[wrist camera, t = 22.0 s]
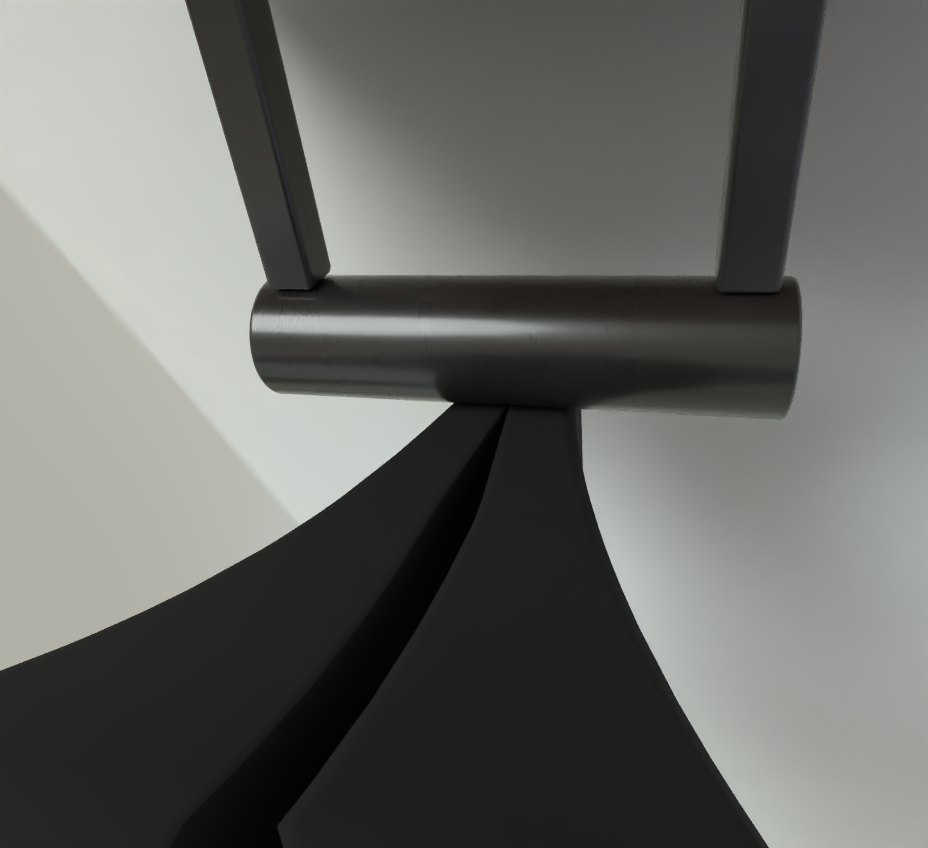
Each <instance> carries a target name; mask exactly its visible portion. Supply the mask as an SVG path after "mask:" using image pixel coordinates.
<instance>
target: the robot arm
mask: <svg viewBox="0 0 928 848" xmlns="http://www.w3.org/2000/svg"><path fill="white" fill-rule="evenodd" d="M0 848H769V847H768V846H767V844H766V843H765V841H764V840H763V838H762V837H761V835H760V834H759V832H758V830H757V829H756V827H755V826H754V824H753V823H752V821H751V820H750V818H749V817H748V815H747V814H746V812H745V811H744V809H743V808H742V806H741V805H740V803H739V802H738V800H737V799H736V797H735V795H734V794H733V792H732V791H731V789H730V788H729V786H728V784H727V783H726V781H725V780H724V778H723V776H722V775H721V773H720V772H719V770H718V769H717V767H716V765H715V764H714V762H713V761H712V759H711V757H710V756H709V754H708V752H707V751H706V749H705V747H704V746H703V744H702V742H701V741H700V739H699V737H698V735H697V734H696V732H695V730H694V729H693V727H692V725H691V723H690V722H689V720H688V718H687V717H686V715H685V713H684V712H683V710H682V708H681V706H680V705H679V703H678V701H677V699H676V698H675V696H674V694H673V692H672V690H671V688H670V686H669V684H668V682H667V680H666V678H665V676H664V675H663V673H662V671H661V669H660V667H659V665H658V663H657V661H656V659H655V657H654V655H653V653H652V652H651V650H650V648H649V646H648V644H647V642H646V640H645V638H644V636H643V634H642V632H641V630H640V628H639V626H638V624H637V622H636V620H635V618H634V615H633V613H632V611H631V609H630V606H629V604H628V602H627V600H626V597H625V595H624V593H623V591H622V588H621V586H620V584H619V581H618V579H617V576H616V574H615V571H614V569H613V566H612V564H611V561H610V559H609V556H608V553H607V551H606V548H605V545H604V542H603V539H602V536H601V533H600V531H599V528H598V524H597V521H596V518H595V514H594V511H593V508H592V505H591V501H590V498H589V494H588V490H587V486H586V482H585V477H584V473H583V461H582V423H581V409H567V408H548V407H529V406H510V405H491V404H472V403H454V404H453V405H451V406H450V407H449V408H448V409H447V410H446V411H445V412H444V413H443V414H442V415H440V416H439V417H438V418H437V419H436V420H435V421H434V422H433V423H432V424H430V425H429V426H428V427H427V428H426V429H425V430H424V431H423V432H421V433H420V434H419V435H418V436H417V437H416V438H415V439H413V440H412V441H411V442H410V443H409V444H408V445H406V446H405V447H404V448H403V449H402V450H401V451H400V452H398V453H397V454H396V455H395V456H394V457H392V458H391V459H390V460H388V461H387V462H386V463H385V464H383V465H382V466H381V467H379V468H378V469H377V470H376V471H374V472H373V473H372V474H371V475H369V476H368V477H367V478H365V479H364V480H363V481H362V482H360V483H359V484H358V485H356V486H355V487H354V488H353V489H351V490H350V491H349V492H348V493H346V494H345V495H344V496H342V497H341V498H340V499H338V500H337V501H335V502H334V503H333V504H331V505H330V506H328V507H327V508H325V509H324V510H323V511H321V512H320V513H318V514H317V515H315V516H314V517H312V518H311V519H309V520H308V521H306V522H305V523H303V524H302V525H300V526H298V527H297V528H295V529H294V530H292V531H291V532H289V533H288V534H286V535H284V536H283V537H281V538H280V539H278V540H277V541H275V542H273V543H272V544H270V545H268V546H267V547H265V548H263V549H262V550H260V551H258V552H256V553H254V554H253V555H251V556H249V557H247V558H245V559H244V560H242V561H240V562H238V563H236V564H234V565H233V566H231V567H229V568H227V569H225V570H224V571H222V572H220V573H218V574H216V575H214V576H213V577H211V578H209V579H207V580H205V581H204V582H202V583H200V584H198V585H196V586H195V587H193V588H191V589H189V590H187V591H185V592H183V593H181V594H179V595H177V596H175V597H173V598H171V599H168V600H166V601H165V602H162V603H160V604H158V605H156V606H154V607H152V608H150V609H148V610H146V611H144V612H141V613H139V614H137V615H135V616H133V617H130V618H128V619H126V620H124V621H121V622H119V623H117V624H115V625H113V626H110V627H108V628H106V629H104V630H101V631H99V632H97V633H95V634H92V635H90V636H87V637H85V638H83V639H80V640H78V641H76V642H73V643H71V644H68V645H66V646H64V647H61V648H58V649H56V650H53V651H50V652H48V653H45V654H43V655H40V656H37V657H35V658H32V659H30V660H27V661H25V662H22V663H19V664H17V665H14V666H12V667H9V668H6V669H4V670H1V671H0Z"/></svg>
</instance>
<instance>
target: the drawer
mask: <svg viewBox="0 0 928 848" xmlns="http://www.w3.org/2000/svg"><path fill="white" fill-rule="evenodd" d="M185 2H186V5H187V8H188V12H189V15H190V19H191V22H192V25H193V29H194V32H195V36H196V39H197V42H198V46H199V49H200V53H201V56H202V59H203V63H204V66H205V70H206V73H207V77H208V80H209V83H210V87H211V90H212V94H213V97H214V100H215V104H216V107H217V111H218V114H219V117H220V121H221V124H222V128H223V131H224V134H225V138H226V141H227V145H228V148H229V151H230V155H231V158H232V162H233V165H234V169H235V172H236V175H237V179H238V182H239V186H240V189H241V192H242V196H243V199H244V203H245V206H246V209H247V213H248V216H249V220H250V223H251V226H252V230H253V233H254V237H255V240H256V243H257V247H258V250H259V254H260V257H261V261H262V264H263V267H264V271H265V274H266V278H267V282H266V283H265V284H264V285H263V286H262V288H261V289H260V290H259V292H258V294H257V296H256V299H255V302H254V305H253V308H252V313H251V319H250V347H251V353H252V358H253V362H254V365H255V368H256V370H257V373H258V375H259V377H260V378H261V380H262V381H263V382H264V384H265V385H266V386H267V387H268V388H270V389H271V390H273V391H275V392H277V393H281V394H300V395H319V396H338V397H357V398H377V399H396V400H415V401H434V402H453V403H472V404H491V405H510V406H529V407H548V408H567V409H586V410H605V411H624V412H643V413H662V414H681V415H700V416H719V417H738V418H757V419H776V420H780V419H783V418H785V417H786V415H787V413H788V411H789V409H790V407H791V404H792V401H793V397H794V393H795V389H796V384H797V378H798V371H799V363H800V354H801V342H802V299H801V292H800V287H799V284H798V281H797V279H796V278H795V277H792V276H784V270H785V263H786V257H787V251H788V244H789V238H790V231H791V225H792V219H793V212H794V206H795V200H796V193H797V187H798V181H799V174H800V168H801V162H802V155H803V149H804V143H805V136H806V130H807V124H808V117H809V111H810V105H811V98H812V92H813V86H814V79H815V73H816V67H817V60H818V54H819V48H820V41H821V35H822V29H823V22H824V16H825V10H826V3H827V0H741V7H740V17H739V28H738V38H737V48H736V58H735V69H734V79H733V89H732V99H731V110H730V120H729V130H728V141H727V151H726V161H725V171H724V182H723V192H722V202H721V212H720V223H719V233H718V243H717V254H716V264H715V272H716V276H516V275H327V274H328V273H329V272H330V266H331V265H330V261H329V257H328V252H327V248H326V244H325V240H324V235H323V231H322V227H321V223H320V218H319V214H318V210H317V206H316V201H315V197H314V193H313V189H312V184H311V180H310V176H309V172H308V167H307V163H306V159H305V155H304V150H303V146H302V142H301V138H300V133H299V129H298V125H297V121H296V116H295V112H294V108H293V104H292V99H291V95H290V91H289V87H288V82H287V78H286V74H285V70H284V65H283V61H282V57H281V53H280V48H279V44H278V40H277V36H276V31H275V27H274V23H273V18H272V14H271V10H270V6H269V1H268V0H185Z"/></svg>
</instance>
